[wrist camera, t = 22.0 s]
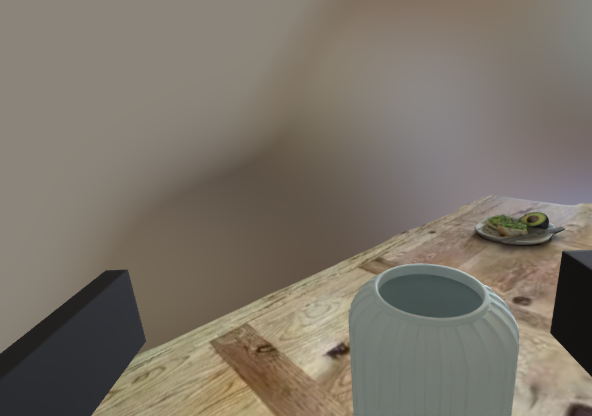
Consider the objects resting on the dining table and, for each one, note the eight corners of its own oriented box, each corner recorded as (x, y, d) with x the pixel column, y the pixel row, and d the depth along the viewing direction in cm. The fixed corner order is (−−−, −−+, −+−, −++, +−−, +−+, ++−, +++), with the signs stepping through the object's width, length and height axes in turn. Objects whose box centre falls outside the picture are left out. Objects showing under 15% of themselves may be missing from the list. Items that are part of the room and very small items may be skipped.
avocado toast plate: (542, 258, 76) (545, 238, 75) (460, 239, 90) (461, 222, 88) (568, 231, 88) (570, 214, 87) (492, 218, 101) (493, 203, 100)
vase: (335, 530, 30) (317, 307, 24) (385, 428, 39) (382, 244, 33) (484, 635, 24) (514, 367, 17) (504, 484, 33) (529, 269, 26)
